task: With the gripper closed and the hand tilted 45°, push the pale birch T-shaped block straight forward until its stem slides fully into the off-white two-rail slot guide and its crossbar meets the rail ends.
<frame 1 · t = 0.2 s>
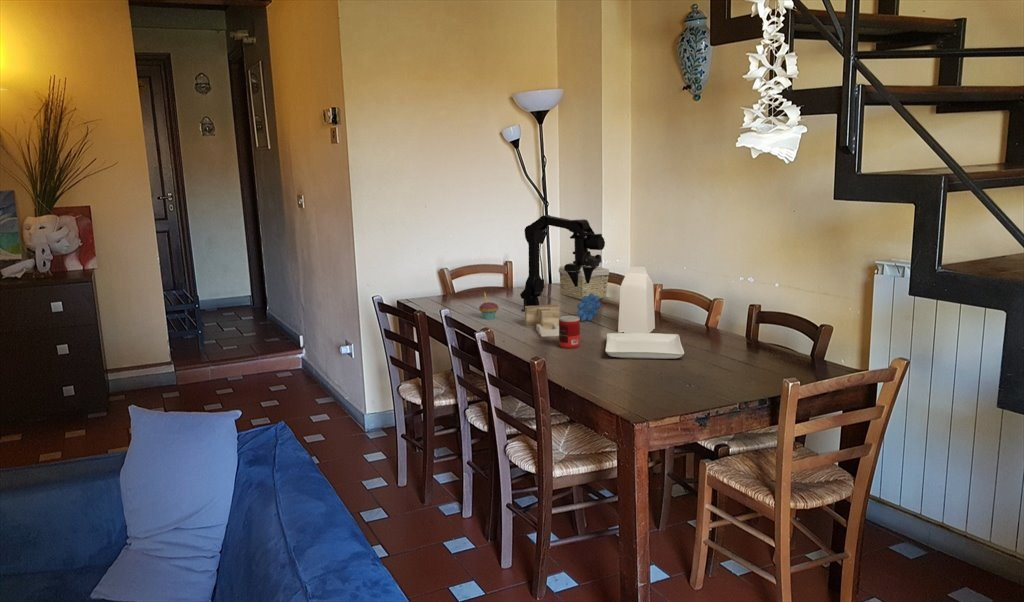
hand: (582, 284, 329), 15 cm above the table, tool pointing down, fingers open, 9 cm apart
t block: (544, 327, 316), on the table
square plate: (643, 352, 276), on the table
storage basket: (583, 296, 381), on the table
cupcake: (489, 318, 336), on the table
grapes: (588, 321, 326), on the table
canned food: (569, 346, 284), on the table
milk: (636, 330, 307), on the table
slot guide: (548, 331, 308), on the table
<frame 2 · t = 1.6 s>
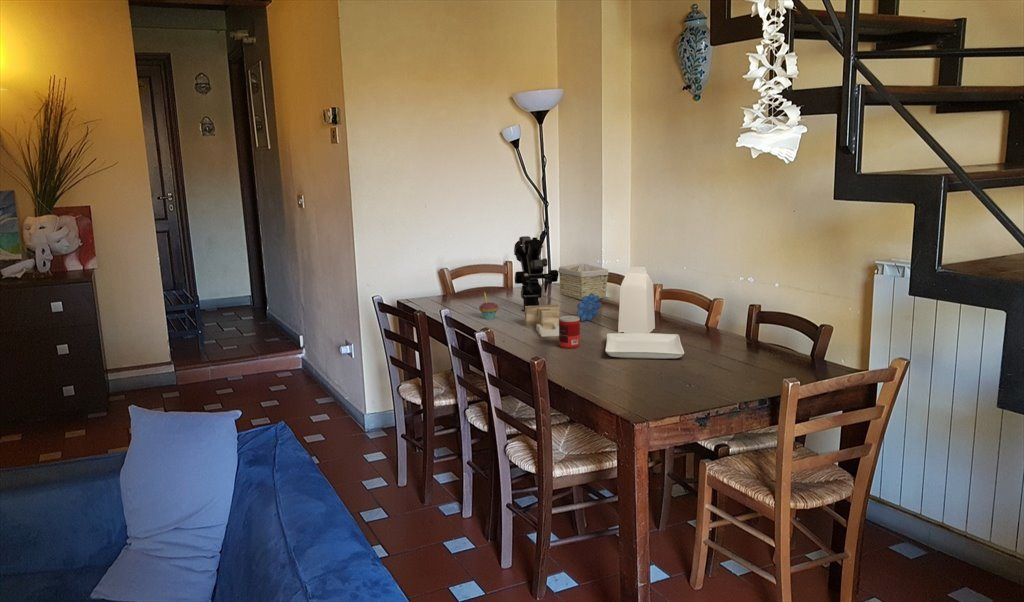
hand: (539, 292, 325), 13 cm above the table, tool tilted 45°, fingers open, 6 cm apart
nothing on the table moved.
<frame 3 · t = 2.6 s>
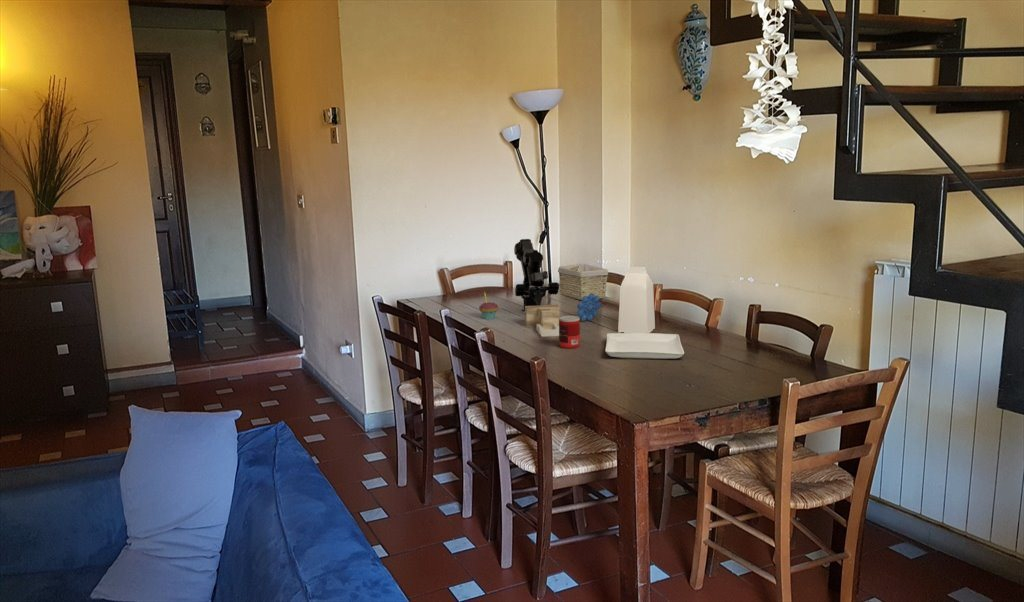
hand: (539, 305, 325), 7 cm above the table, tool tilted 45°, fingers closed
nothing on the table moved.
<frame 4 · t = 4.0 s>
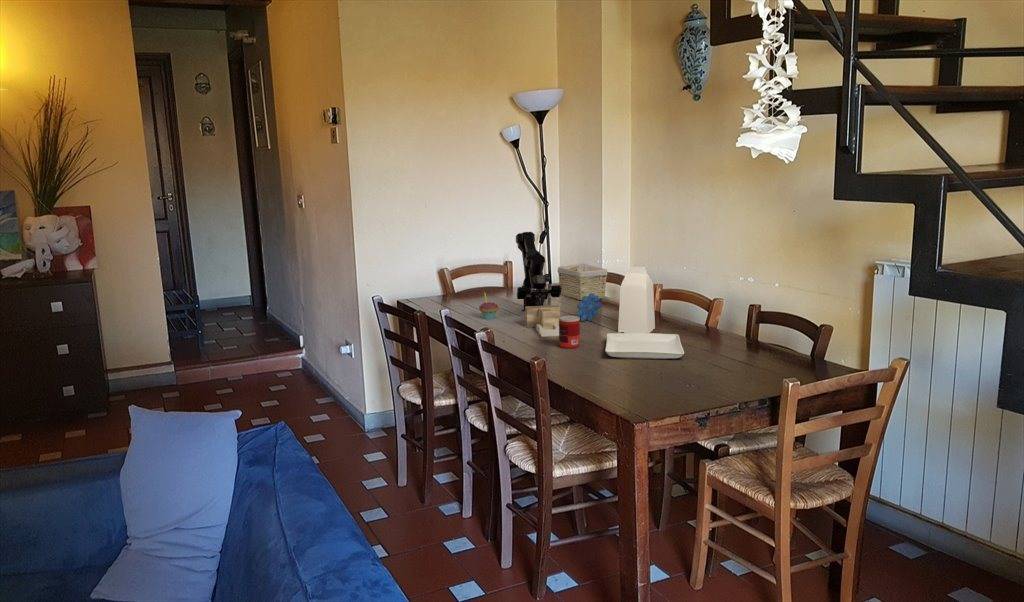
hand: (541, 308, 320), 7 cm above the table, tool tilted 45°, fingers closed
t block: (545, 328, 315), on the table
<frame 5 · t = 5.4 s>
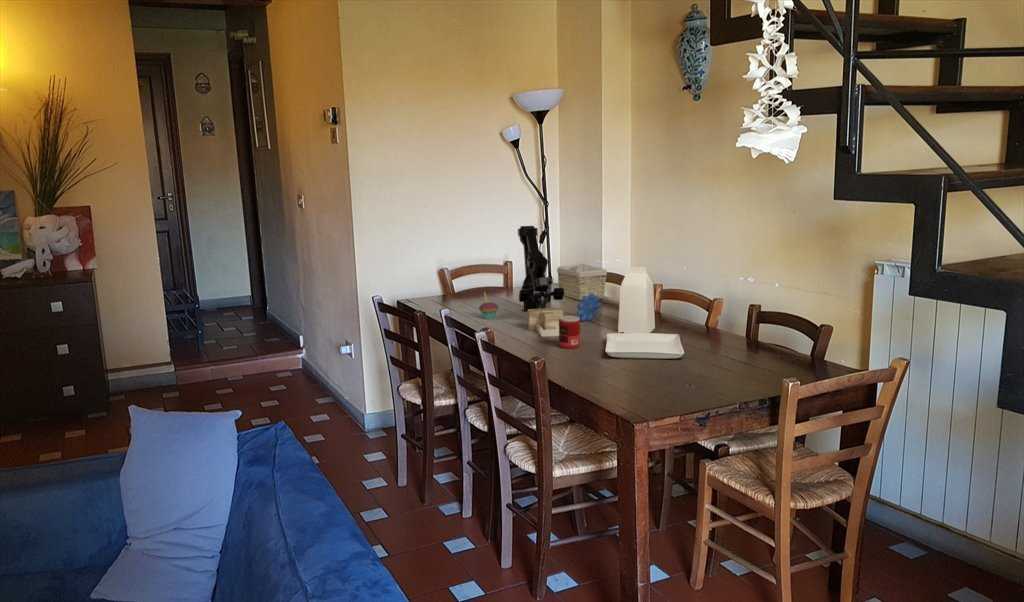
hand: (544, 311, 315), 7 cm above the table, tool tilted 45°, fingers closed, pressing on t block
t block: (547, 331, 309), on the table, touching gripper, slot guide
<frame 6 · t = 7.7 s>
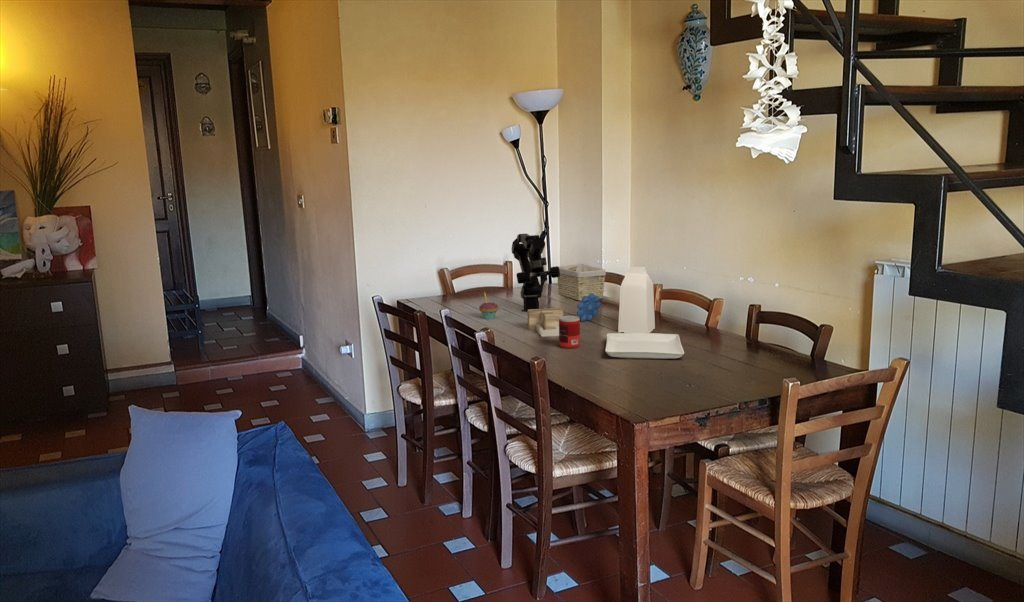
hand: (541, 292, 327), 12 cm above the table, tool tilted 35°, fingers closed
t block: (547, 331, 309), on the table
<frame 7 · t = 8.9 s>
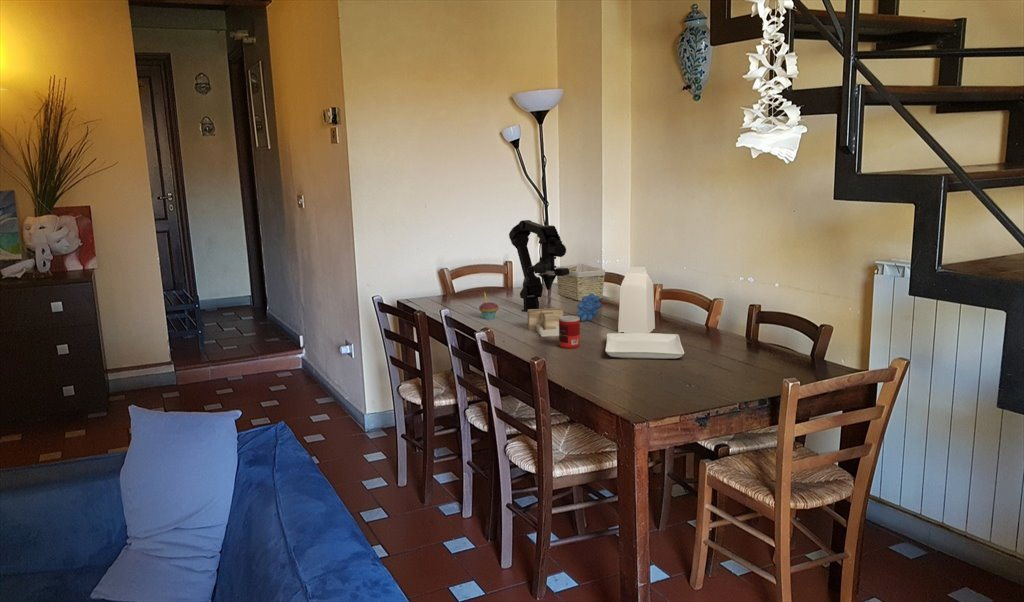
hand: (548, 289, 334), 12 cm above the table, tool pointing down, fingers closed
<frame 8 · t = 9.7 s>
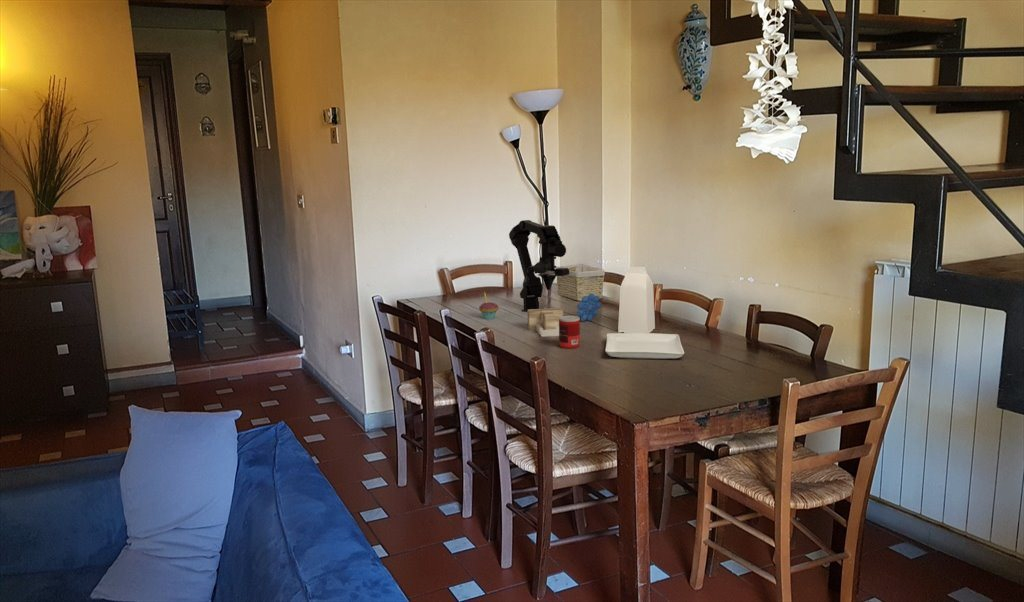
hand: (548, 289, 334), 12 cm above the table, tool pointing down, fingers closed
at the end: t block 1.0 cm from the slot guide (horizontally); t block tilted 0° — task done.
